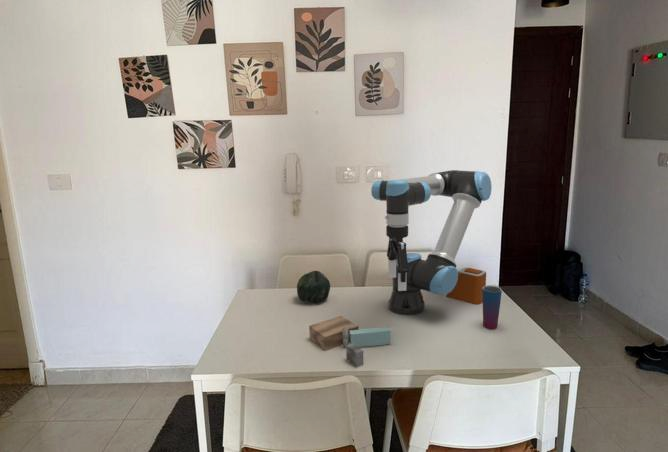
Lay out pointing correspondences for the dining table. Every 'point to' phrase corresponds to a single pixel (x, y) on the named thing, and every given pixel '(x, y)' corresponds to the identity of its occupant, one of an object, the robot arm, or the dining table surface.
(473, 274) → the brown toaster
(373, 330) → the teal block
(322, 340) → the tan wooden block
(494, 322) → the cup
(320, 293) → the squash
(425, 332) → the dining table surface
